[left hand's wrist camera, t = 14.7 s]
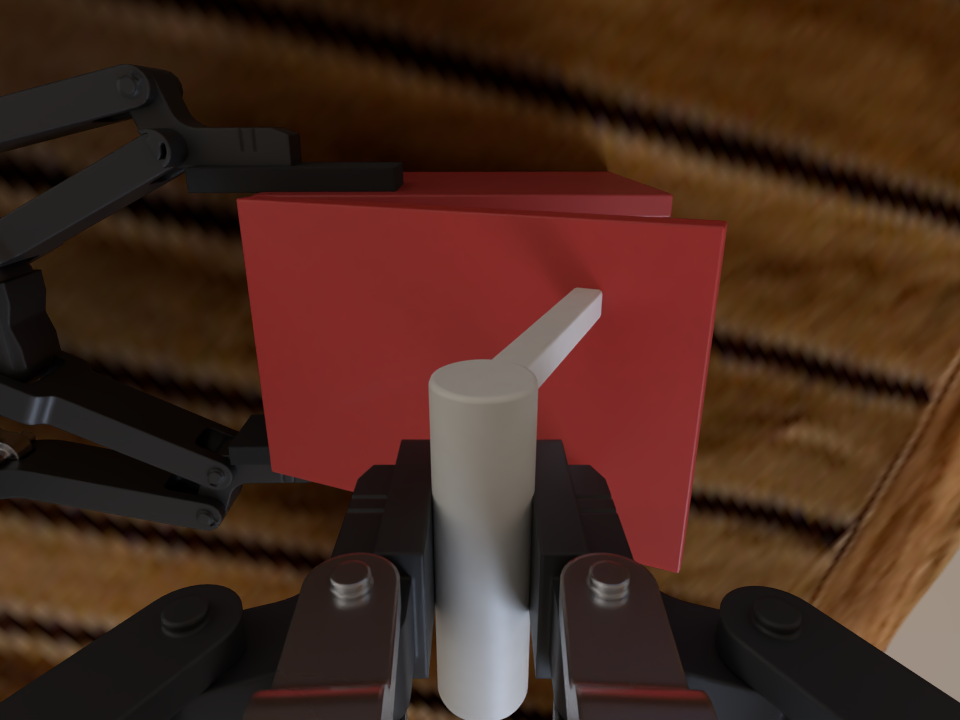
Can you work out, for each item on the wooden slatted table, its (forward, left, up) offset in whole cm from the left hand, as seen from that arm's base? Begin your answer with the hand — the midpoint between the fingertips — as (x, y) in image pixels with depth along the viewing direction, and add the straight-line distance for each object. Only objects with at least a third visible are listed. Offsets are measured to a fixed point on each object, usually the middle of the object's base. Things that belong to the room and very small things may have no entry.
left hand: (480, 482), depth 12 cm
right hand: (-1, +2, -11) cm, 12 cm away
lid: (0, 0, -6) cm, 6 cm away
